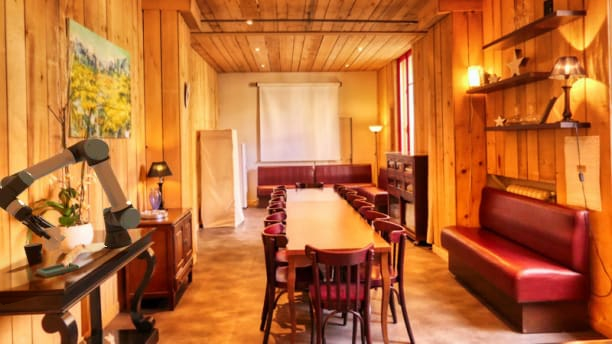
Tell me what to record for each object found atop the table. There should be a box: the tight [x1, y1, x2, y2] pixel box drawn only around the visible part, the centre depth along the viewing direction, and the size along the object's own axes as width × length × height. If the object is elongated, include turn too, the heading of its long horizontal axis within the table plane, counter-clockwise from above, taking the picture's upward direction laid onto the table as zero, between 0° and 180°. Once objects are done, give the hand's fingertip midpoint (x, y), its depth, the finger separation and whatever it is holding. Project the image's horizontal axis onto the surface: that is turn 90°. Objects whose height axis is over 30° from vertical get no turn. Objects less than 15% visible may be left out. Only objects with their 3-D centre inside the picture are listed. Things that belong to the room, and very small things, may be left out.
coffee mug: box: [23, 242, 44, 266], centre depth 246 cm, size 12×9×10 cm
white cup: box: [42, 226, 63, 252], centre depth 219 cm, size 8×8×10 cm
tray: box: [36, 262, 80, 279], centre depth 220 cm, size 14×14×2 cm
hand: (60, 240), depth 219 cm, fingers closed on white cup, 8 cm apart
